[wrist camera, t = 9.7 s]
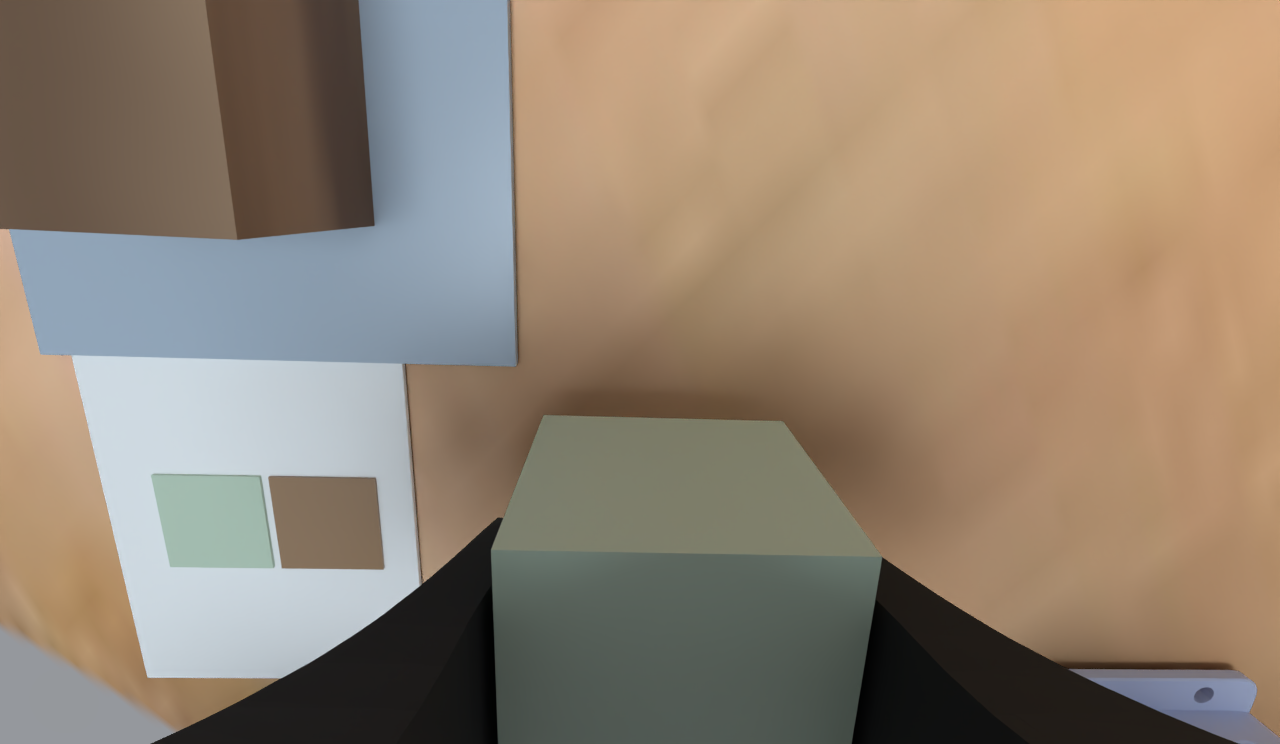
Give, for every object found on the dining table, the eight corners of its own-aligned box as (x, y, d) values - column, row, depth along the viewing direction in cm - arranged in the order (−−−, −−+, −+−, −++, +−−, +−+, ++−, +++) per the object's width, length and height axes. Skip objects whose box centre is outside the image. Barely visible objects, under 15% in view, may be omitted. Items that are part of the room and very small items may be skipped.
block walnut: (356, -28, 11) (181, -180, 6) (374, 225, 12) (237, 239, 8) (100, -45, 11) (-257, -214, 6) (145, 214, 12) (-127, 222, 8)
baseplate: (506, -182, 10) (502, -193, 10) (517, 363, 13) (515, 366, 13) (-87, -219, 10) (-107, -231, 10) (53, 351, 13) (40, 354, 13)
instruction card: (403, 338, 13) (398, 340, 13) (428, 674, 16) (425, 681, 15) (72, 329, 13) (62, 331, 13) (152, 673, 15) (145, 680, 15)
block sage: (782, 421, 11) (882, 556, 7) (761, 623, 12) (834, 848, 8) (543, 414, 11) (490, 550, 7) (545, 620, 12) (501, 847, 8)
